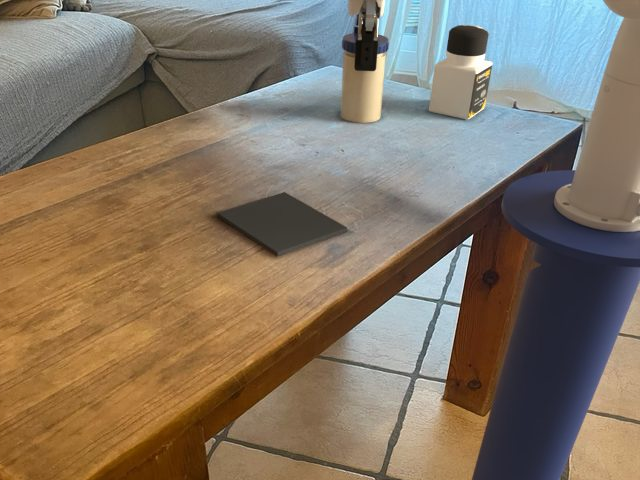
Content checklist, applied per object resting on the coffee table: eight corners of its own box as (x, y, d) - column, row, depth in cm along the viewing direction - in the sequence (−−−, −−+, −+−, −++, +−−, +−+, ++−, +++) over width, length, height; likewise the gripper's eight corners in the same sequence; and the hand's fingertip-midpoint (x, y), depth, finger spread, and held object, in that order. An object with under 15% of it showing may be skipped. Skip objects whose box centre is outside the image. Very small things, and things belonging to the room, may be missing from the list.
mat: (347, 231, 76) (347, 227, 76) (277, 256, 71) (277, 252, 71) (284, 195, 83) (284, 191, 83) (217, 216, 78) (216, 212, 78)
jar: (388, 117, 106) (395, 45, 99) (359, 125, 102) (363, 51, 96) (362, 107, 109) (366, 36, 102) (332, 114, 106) (335, 42, 99)
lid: (341, 42, 102) (342, 32, 101) (386, 43, 102) (387, 33, 101) (342, 54, 97) (342, 43, 96) (389, 55, 97) (390, 45, 96)
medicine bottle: (468, 120, 105) (483, 35, 97) (427, 112, 108) (438, 28, 100) (484, 109, 110) (500, 26, 102) (445, 100, 113) (457, 19, 104)
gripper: (344, -92, 95) (338, 47, 107) (347, -78, 82) (340, 79, 94) (396, -90, 95) (384, 49, 107) (407, -76, 82) (392, 81, 94)
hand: (364, 62), depth 101 cm, fingers closed on lid, 6 cm apart
